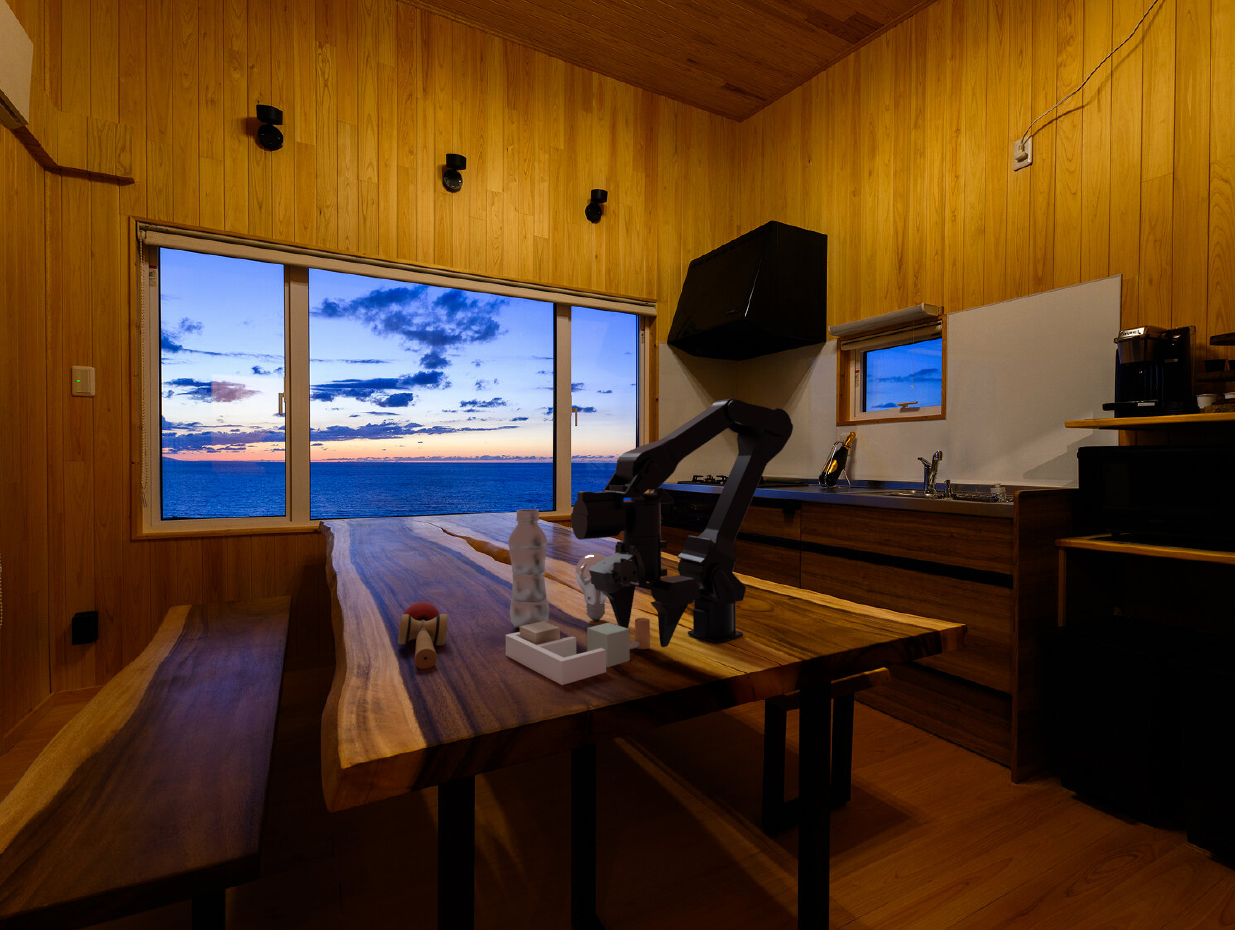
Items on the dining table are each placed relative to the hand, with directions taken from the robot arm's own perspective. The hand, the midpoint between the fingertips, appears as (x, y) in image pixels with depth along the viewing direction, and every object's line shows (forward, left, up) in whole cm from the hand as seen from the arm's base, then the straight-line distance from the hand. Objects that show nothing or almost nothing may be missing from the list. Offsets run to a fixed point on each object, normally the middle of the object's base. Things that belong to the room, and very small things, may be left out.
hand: (643, 639), depth 88 cm
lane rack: (+14, -4, -2) cm, 14 cm away
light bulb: (-4, -18, -2) cm, 18 cm away
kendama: (+25, -22, -2) cm, 33 cm away
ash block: (+14, -7, -2) cm, 15 cm away
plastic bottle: (+7, -22, -2) cm, 23 cm away
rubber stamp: (+4, 0, -2) cm, 4 cm away
